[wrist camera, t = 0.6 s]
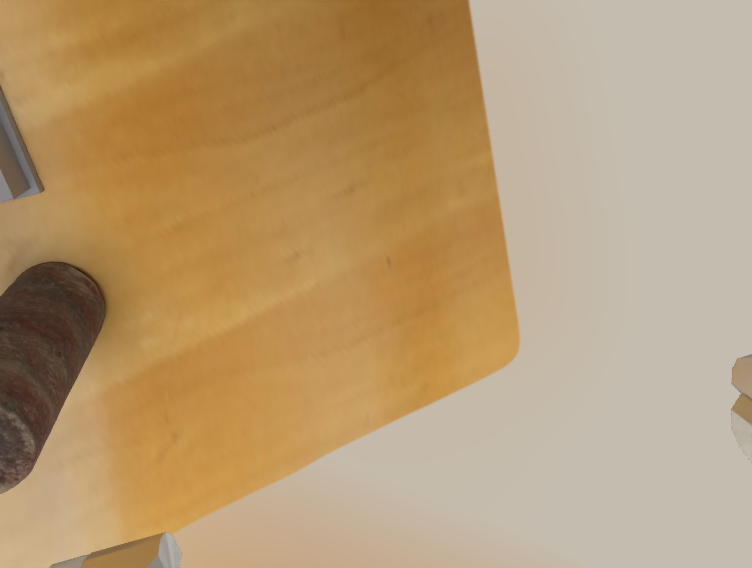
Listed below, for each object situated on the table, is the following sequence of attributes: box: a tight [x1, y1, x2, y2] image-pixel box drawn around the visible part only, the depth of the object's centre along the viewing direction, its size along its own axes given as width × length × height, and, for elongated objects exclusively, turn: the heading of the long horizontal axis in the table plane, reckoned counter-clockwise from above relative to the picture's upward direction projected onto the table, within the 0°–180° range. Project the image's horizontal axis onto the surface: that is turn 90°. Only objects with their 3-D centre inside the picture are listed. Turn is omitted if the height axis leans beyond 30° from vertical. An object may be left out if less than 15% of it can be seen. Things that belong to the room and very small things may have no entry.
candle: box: [0, 262, 105, 494], centre depth 41 cm, size 8×7×20 cm
